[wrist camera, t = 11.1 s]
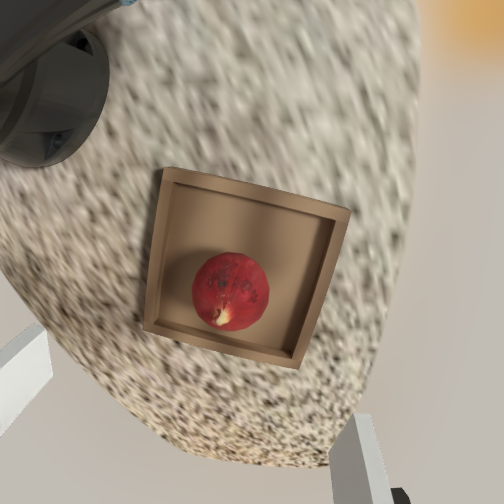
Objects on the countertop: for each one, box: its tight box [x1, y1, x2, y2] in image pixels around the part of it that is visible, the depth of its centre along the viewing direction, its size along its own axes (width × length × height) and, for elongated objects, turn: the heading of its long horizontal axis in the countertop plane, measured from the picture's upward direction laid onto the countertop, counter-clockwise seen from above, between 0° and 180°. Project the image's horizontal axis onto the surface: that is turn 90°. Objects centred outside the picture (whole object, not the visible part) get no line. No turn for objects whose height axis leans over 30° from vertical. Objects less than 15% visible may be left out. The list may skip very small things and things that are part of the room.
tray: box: [143, 167, 352, 370], centre depth 27 cm, size 15×15×2 cm
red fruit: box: [192, 252, 270, 332], centre depth 23 cm, size 6×6×8 cm
